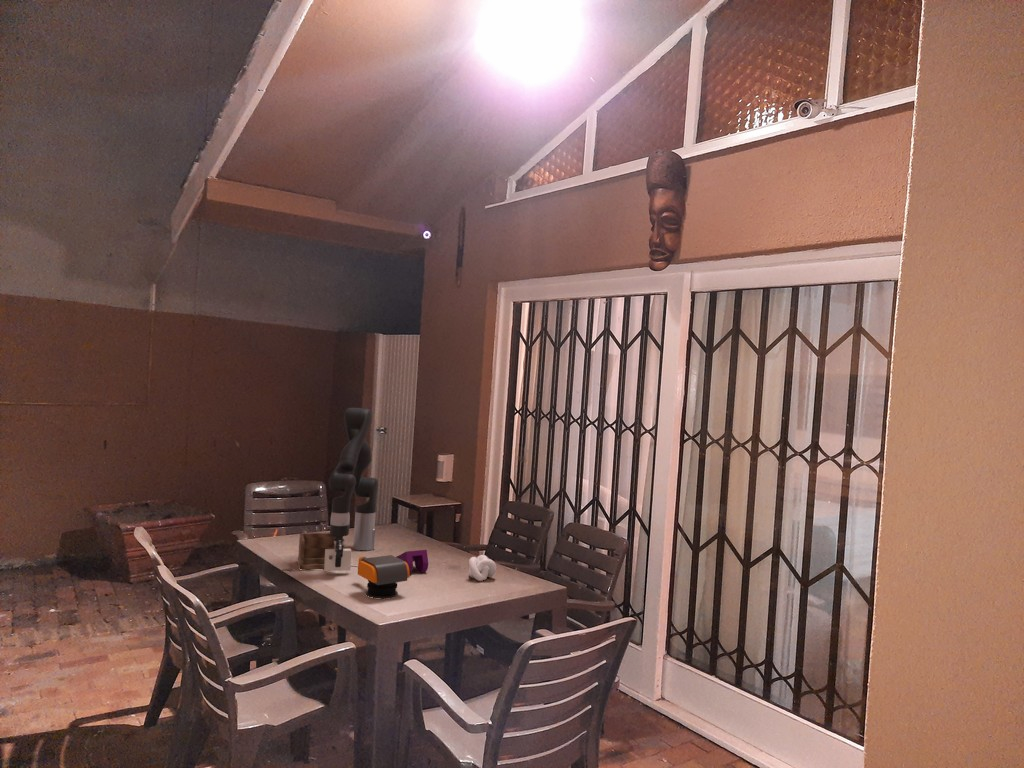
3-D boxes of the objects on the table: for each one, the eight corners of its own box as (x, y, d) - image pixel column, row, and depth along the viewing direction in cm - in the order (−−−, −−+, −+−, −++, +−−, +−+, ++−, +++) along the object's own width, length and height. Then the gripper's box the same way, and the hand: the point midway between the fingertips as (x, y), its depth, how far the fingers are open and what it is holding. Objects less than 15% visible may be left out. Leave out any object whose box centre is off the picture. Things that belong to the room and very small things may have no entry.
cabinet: (336, 560, 300) (338, 532, 300) (339, 569, 286) (341, 540, 286) (298, 561, 294) (299, 533, 294) (299, 570, 281) (301, 540, 281)
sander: (376, 579, 275) (378, 547, 275) (409, 596, 256) (411, 562, 256) (342, 584, 266) (344, 551, 266) (373, 602, 246) (375, 567, 246)
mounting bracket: (391, 580, 295) (408, 572, 282) (388, 560, 298) (406, 551, 285) (411, 578, 300) (429, 569, 287) (408, 558, 303) (426, 549, 290)
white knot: (483, 584, 277) (485, 562, 277) (459, 579, 283) (460, 557, 283) (498, 579, 286) (500, 557, 286) (474, 573, 293) (476, 552, 293)
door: (349, 568, 282) (350, 548, 282) (350, 570, 278) (351, 551, 278) (324, 568, 278) (325, 549, 278) (324, 571, 274) (326, 551, 274)
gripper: (351, 526, 273) (348, 570, 273) (347, 519, 286) (345, 560, 286) (331, 527, 271) (329, 570, 271) (328, 519, 284) (326, 561, 284)
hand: (337, 565), depth 279 cm, fingers closed on door, 3 cm apart
